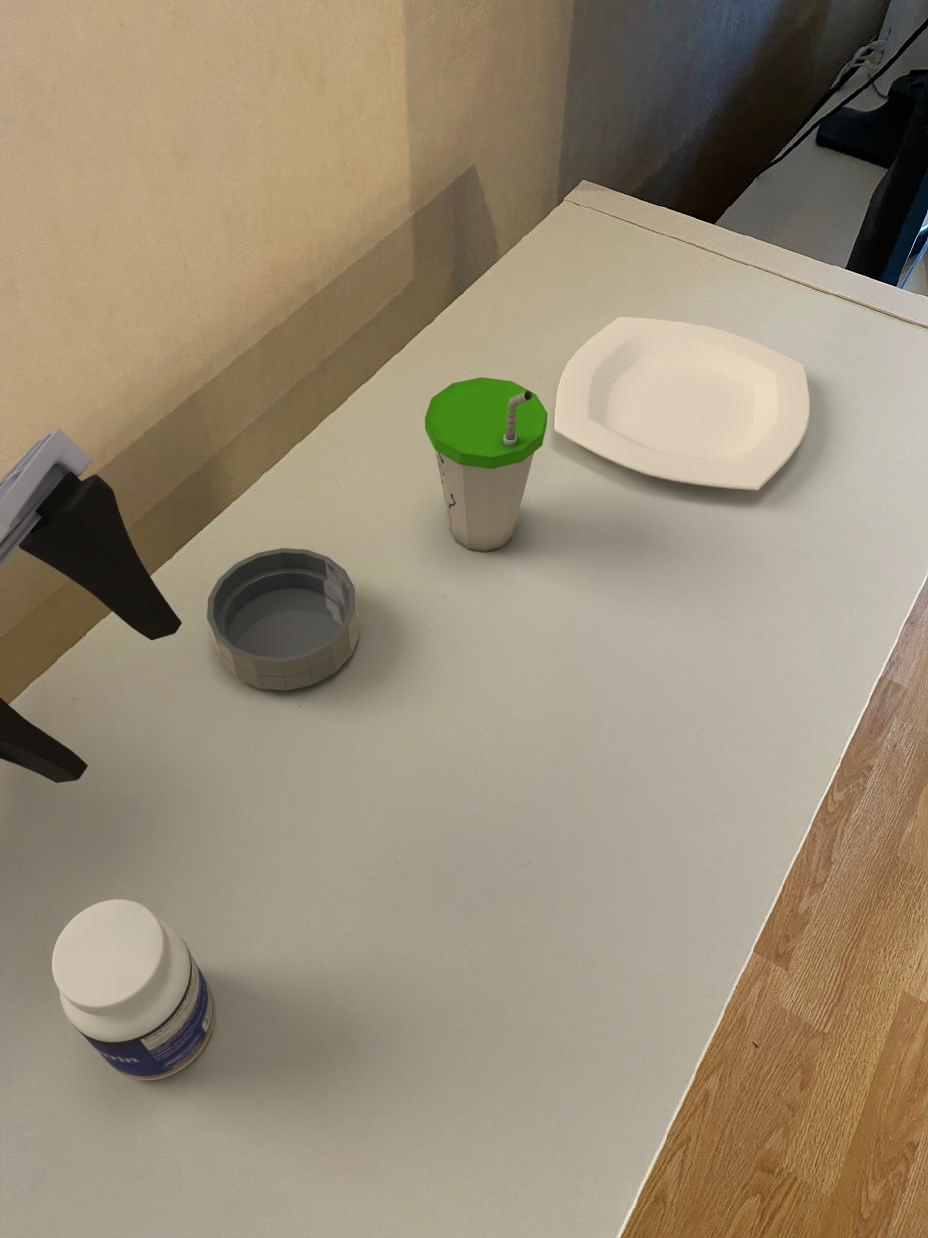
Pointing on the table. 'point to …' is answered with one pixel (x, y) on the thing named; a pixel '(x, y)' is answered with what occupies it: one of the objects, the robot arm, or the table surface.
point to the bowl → (284, 618)
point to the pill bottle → (133, 989)
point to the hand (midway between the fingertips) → (122, 699)
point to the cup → (484, 455)
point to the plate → (684, 403)
